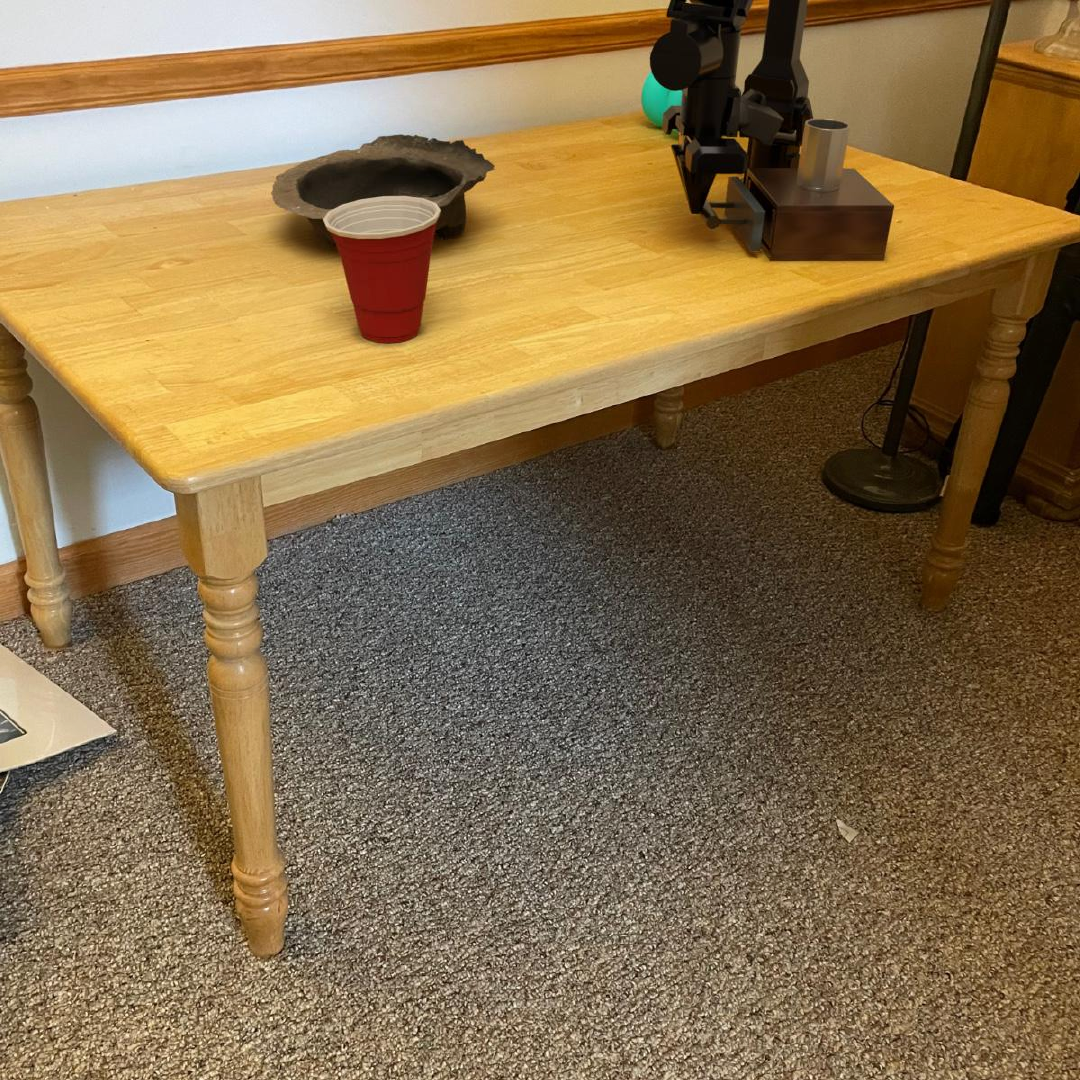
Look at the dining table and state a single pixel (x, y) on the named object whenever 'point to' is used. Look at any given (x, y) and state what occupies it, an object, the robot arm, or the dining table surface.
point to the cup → (822, 155)
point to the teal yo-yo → (658, 100)
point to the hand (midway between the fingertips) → (695, 213)
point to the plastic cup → (386, 261)
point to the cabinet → (824, 218)
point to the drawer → (743, 213)
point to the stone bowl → (385, 179)
